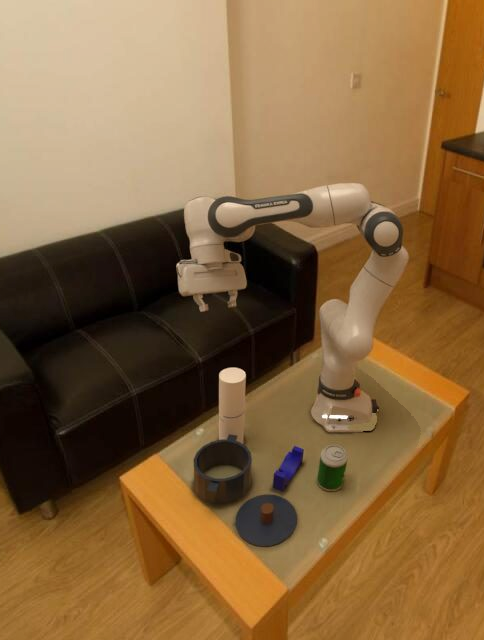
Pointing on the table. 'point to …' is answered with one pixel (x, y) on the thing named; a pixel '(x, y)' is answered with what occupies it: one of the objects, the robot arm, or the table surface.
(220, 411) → the cylindrical container
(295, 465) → the cable clip
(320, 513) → the table surface
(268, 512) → the pot lid
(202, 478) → the pot
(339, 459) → the soda can
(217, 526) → the table surface
